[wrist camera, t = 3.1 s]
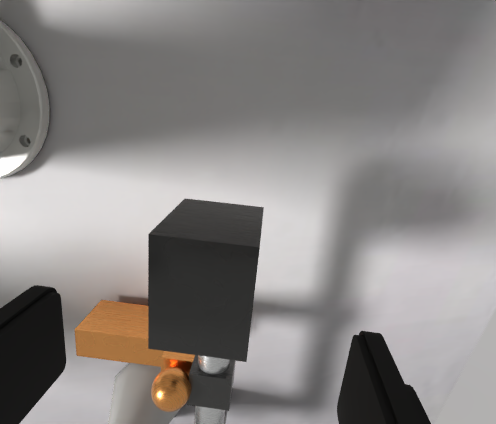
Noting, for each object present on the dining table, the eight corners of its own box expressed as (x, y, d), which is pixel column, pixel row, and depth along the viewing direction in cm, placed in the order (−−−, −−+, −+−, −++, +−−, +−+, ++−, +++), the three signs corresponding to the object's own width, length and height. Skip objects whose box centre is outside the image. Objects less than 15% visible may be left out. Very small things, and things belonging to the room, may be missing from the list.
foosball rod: (94, 158, 24) (-90, 206, 12) (266, 176, 24) (259, 247, 11) (106, 395, 31) (-4, 581, 19) (239, 414, 31) (216, 618, 18)
